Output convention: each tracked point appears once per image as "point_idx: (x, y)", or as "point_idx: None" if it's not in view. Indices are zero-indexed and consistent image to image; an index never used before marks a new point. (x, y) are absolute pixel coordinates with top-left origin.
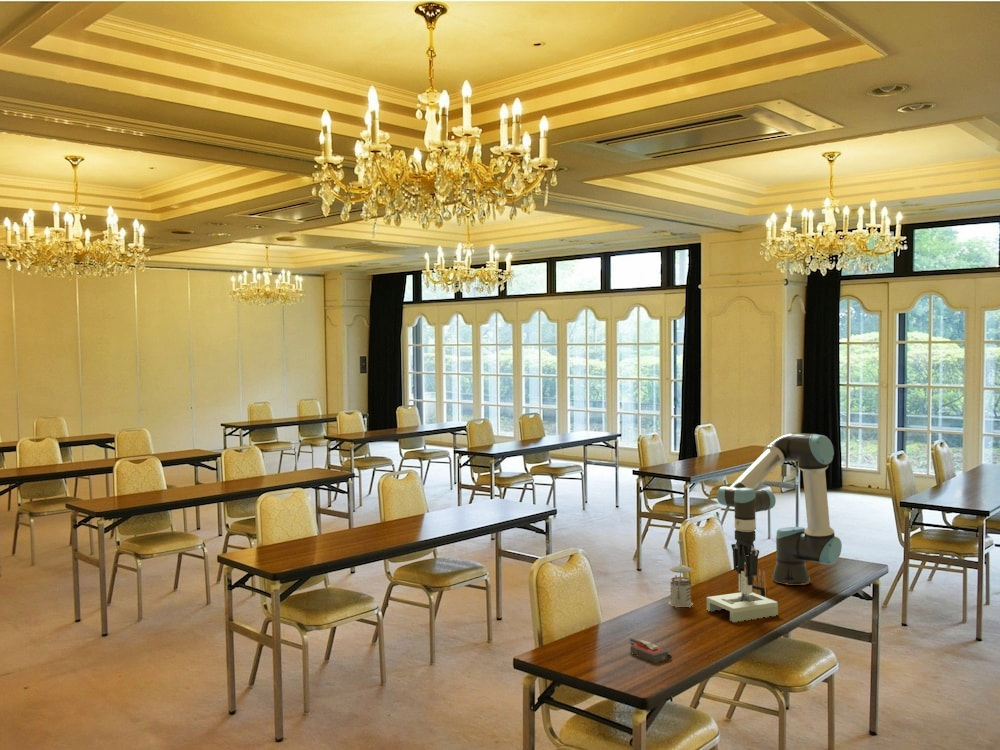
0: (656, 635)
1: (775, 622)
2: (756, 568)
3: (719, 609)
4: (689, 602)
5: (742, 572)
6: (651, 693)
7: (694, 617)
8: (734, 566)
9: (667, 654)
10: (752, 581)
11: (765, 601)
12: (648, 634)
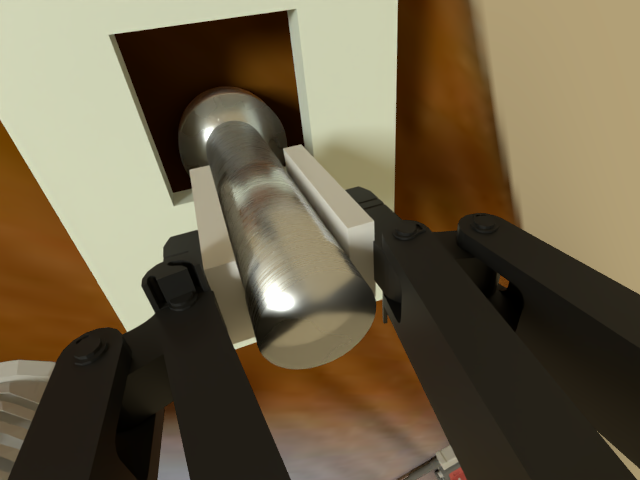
0: (376, 450)
1: (441, 54)
2: (584, 281)
3: None
4: None
5: (333, 348)
6: None
7: (256, 372)
8: (123, 457)
9: None
10: (383, 206)
11: (347, 33)
12: (363, 463)
